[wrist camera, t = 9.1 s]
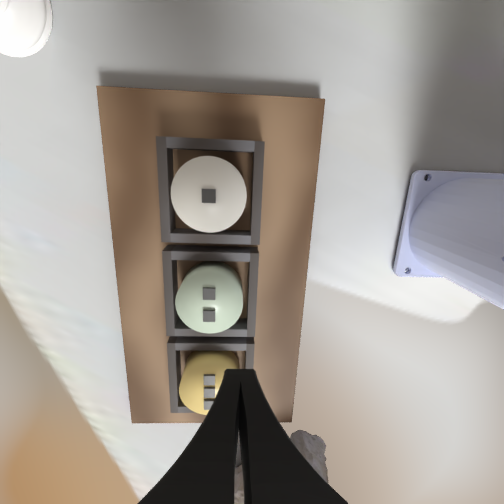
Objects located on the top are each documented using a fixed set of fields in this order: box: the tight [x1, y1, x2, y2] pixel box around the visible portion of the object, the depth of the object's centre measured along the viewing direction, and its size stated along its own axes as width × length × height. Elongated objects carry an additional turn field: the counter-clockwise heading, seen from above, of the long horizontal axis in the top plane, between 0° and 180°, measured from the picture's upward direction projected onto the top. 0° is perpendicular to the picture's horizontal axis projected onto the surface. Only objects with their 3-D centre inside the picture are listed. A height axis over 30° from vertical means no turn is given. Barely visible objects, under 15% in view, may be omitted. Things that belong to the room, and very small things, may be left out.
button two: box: [175, 261, 243, 334], centre depth 19 cm, size 4×4×3 cm
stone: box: [234, 430, 328, 504], centre depth 25 cm, size 8×10×6 cm
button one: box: [171, 156, 247, 233], centre depth 17 cm, size 4×4×3 cm
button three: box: [179, 350, 240, 415], centre depth 21 cm, size 4×4×3 cm
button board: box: [96, 86, 325, 423], centre depth 21 cm, size 14×26×3 cm, turn 178°
